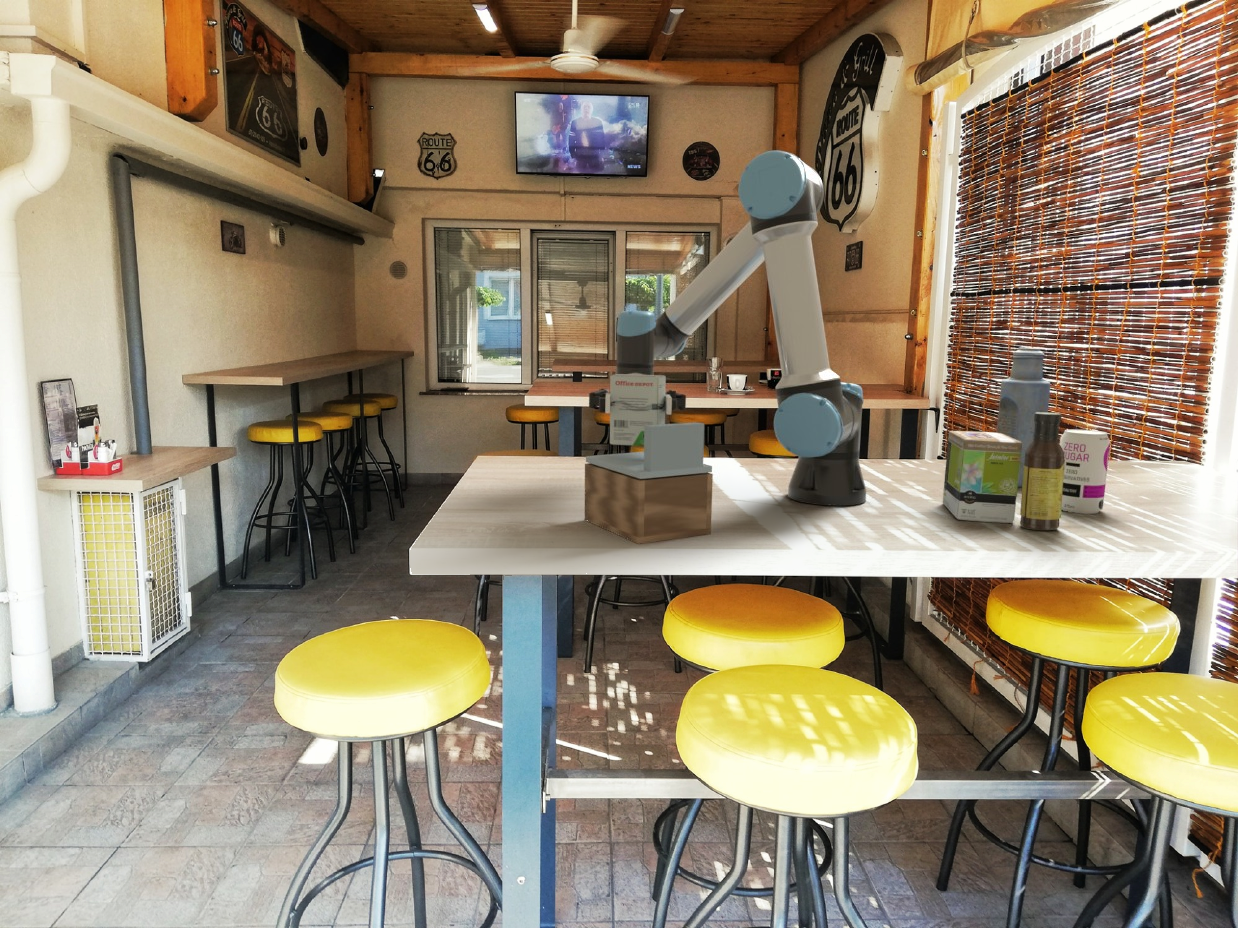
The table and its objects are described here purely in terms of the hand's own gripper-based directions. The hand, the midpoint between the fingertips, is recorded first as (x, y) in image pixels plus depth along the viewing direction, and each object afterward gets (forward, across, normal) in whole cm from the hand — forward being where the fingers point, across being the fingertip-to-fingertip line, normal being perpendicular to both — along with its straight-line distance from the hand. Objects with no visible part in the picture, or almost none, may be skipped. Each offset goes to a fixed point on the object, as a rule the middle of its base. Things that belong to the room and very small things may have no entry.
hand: (638, 405), depth 135 cm
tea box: (-15, -64, -21) cm, 69 cm away
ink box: (-4, 0, -7) cm, 8 cm away
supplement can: (-19, -85, -20) cm, 89 cm away
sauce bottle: (-4, -70, -20) cm, 73 cm away
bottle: (-46, -86, -20) cm, 100 cm away
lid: (-2, -2, -10) cm, 11 cm away
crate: (-2, -2, -21) cm, 21 cm away
